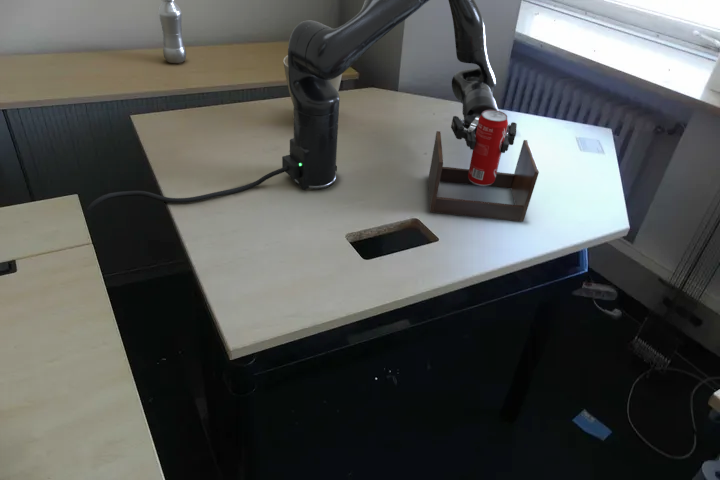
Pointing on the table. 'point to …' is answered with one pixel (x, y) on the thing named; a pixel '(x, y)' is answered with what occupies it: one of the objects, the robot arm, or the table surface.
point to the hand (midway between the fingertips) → (488, 147)
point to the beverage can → (487, 147)
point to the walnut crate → (517, 182)
